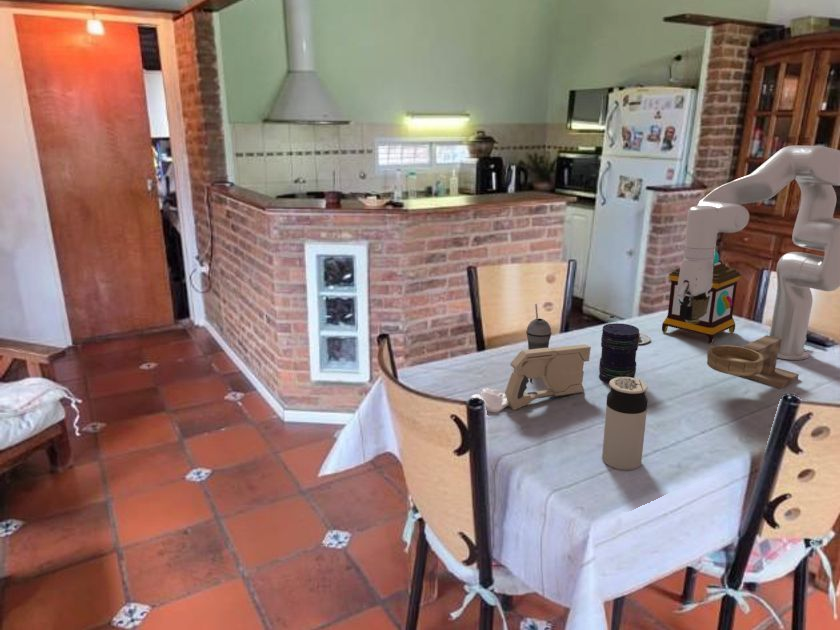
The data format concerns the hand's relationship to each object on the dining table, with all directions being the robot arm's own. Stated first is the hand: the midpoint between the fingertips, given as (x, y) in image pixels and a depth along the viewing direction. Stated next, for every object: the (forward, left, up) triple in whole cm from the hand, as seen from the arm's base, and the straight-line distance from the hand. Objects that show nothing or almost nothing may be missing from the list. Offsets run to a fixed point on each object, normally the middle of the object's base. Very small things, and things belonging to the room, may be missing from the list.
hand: (692, 315), depth 162 cm
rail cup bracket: (-6, +14, -18) cm, 24 cm away
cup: (0, 0, -2) cm, 2 cm away
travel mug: (+53, +16, -18) cm, 58 cm away
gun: (+42, -15, -18) cm, 48 cm away
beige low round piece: (-15, -28, -19) cm, 37 cm away
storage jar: (+17, -11, -18) cm, 27 cm away
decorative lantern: (-37, -17, -18) cm, 45 cm away
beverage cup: (+29, -30, -18) cm, 45 cm away
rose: (+55, -22, -18) cm, 62 cm away
